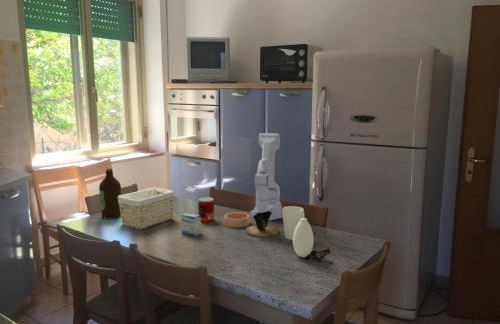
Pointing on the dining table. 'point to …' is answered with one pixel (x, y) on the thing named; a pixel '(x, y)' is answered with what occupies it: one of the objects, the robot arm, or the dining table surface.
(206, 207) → the canned food
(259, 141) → the robot arm
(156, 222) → the storage basket
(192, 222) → the medicine box
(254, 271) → the dining table surface
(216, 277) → the dining table surface
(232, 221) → the bowl
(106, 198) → the olive oil
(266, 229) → the lid
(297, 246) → the sauce bottle
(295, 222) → the foam cup
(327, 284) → the dining table surface
